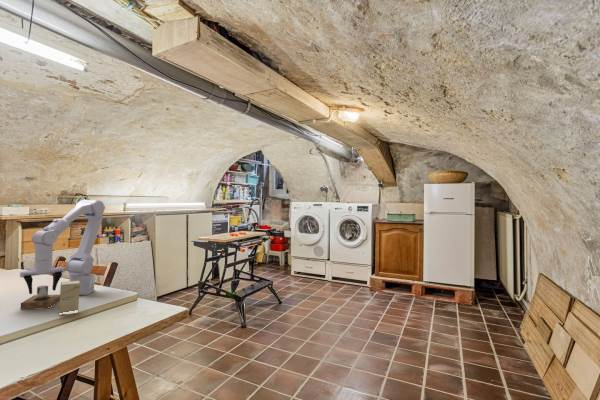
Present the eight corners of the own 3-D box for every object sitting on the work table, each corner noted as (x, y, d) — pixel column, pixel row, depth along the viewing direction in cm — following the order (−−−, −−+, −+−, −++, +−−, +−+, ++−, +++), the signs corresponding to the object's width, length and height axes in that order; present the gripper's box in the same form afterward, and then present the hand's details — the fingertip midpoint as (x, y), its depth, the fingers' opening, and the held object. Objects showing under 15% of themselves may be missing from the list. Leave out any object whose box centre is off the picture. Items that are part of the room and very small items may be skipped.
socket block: (61, 300, 140) (61, 294, 140) (49, 308, 130) (50, 302, 130) (34, 300, 137) (34, 295, 137) (20, 309, 127) (20, 303, 127)
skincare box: (58, 316, 123) (60, 284, 123) (58, 312, 126) (60, 282, 126) (78, 313, 127) (80, 282, 127) (78, 309, 130) (79, 280, 130)
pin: (46, 301, 136) (46, 285, 136) (48, 303, 134) (49, 286, 134) (35, 303, 133) (36, 286, 133) (37, 305, 131) (38, 288, 131)
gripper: (62, 255, 141) (61, 286, 142) (19, 259, 131) (18, 292, 131) (66, 258, 136) (65, 290, 137) (21, 262, 126) (20, 297, 126)
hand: (42, 291), depth 134 cm, fingers open, 7 cm apart
